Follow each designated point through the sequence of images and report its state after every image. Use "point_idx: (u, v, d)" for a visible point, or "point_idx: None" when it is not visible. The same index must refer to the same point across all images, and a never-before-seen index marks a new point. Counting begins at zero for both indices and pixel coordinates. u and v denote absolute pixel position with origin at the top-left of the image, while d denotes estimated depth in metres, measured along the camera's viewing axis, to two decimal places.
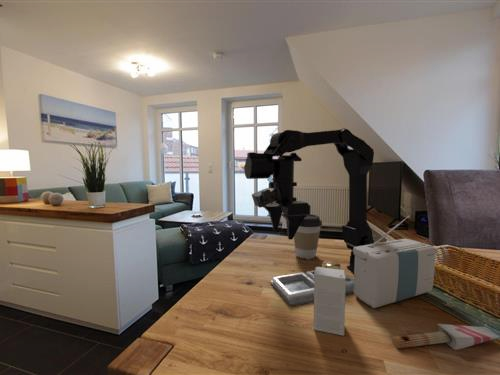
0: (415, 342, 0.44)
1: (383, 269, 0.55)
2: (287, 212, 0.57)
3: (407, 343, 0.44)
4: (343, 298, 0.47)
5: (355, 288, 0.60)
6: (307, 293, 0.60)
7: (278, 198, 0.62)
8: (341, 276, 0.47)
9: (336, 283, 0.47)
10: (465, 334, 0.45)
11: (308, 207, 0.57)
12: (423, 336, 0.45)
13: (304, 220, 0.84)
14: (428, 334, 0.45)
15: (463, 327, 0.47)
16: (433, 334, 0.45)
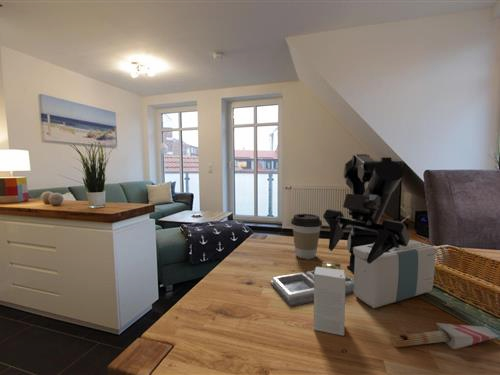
0: (414, 341, 0.44)
1: (383, 269, 0.55)
2: (397, 227, 0.49)
3: (406, 342, 0.44)
4: (343, 298, 0.47)
5: (355, 288, 0.60)
6: (307, 293, 0.60)
7: (374, 213, 0.54)
8: (341, 276, 0.47)
9: (336, 283, 0.47)
10: (464, 333, 0.45)
11: (409, 238, 0.51)
12: (422, 335, 0.45)
13: (304, 220, 0.84)
14: (427, 333, 0.46)
15: (462, 327, 0.47)
16: (432, 333, 0.46)
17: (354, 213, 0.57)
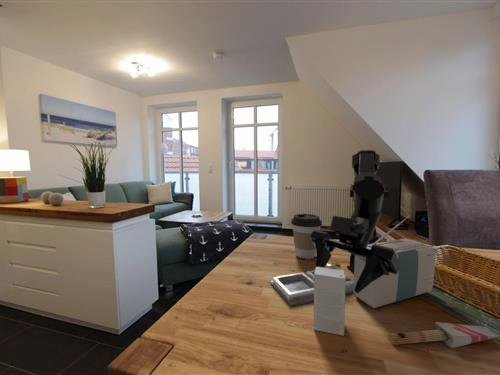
0: (411, 339, 0.45)
1: None
2: (386, 255, 0.45)
3: (403, 340, 0.45)
4: (343, 298, 0.47)
5: None
6: (307, 293, 0.60)
7: (362, 237, 0.51)
8: (341, 276, 0.47)
9: (336, 282, 0.47)
10: (462, 333, 0.45)
11: (399, 265, 0.48)
12: (419, 333, 0.46)
13: (304, 220, 0.84)
14: (425, 332, 0.46)
15: (461, 326, 0.47)
16: (430, 332, 0.46)
17: (342, 236, 0.54)
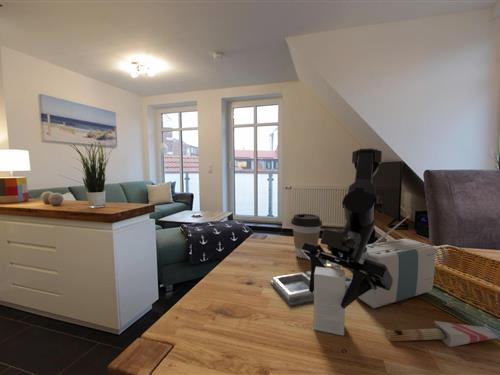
0: (408, 336, 0.46)
1: None
2: (378, 271, 0.44)
3: (400, 337, 0.46)
4: None
5: None
6: (307, 293, 0.60)
7: (354, 252, 0.49)
8: (341, 276, 0.47)
9: (336, 282, 0.47)
10: (461, 332, 0.45)
11: (391, 281, 0.46)
12: (417, 331, 0.46)
13: (304, 220, 0.84)
14: (422, 330, 0.47)
15: (461, 326, 0.47)
16: (427, 330, 0.46)
17: (333, 250, 0.52)
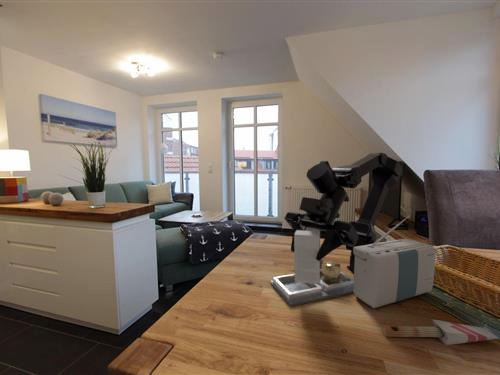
0: (404, 333, 0.47)
1: (383, 269, 0.55)
2: (345, 228, 0.53)
3: (395, 333, 0.47)
4: None
5: (355, 288, 0.60)
6: (307, 293, 0.60)
7: (327, 215, 0.58)
8: (316, 235, 0.56)
9: (312, 240, 0.56)
10: (459, 331, 0.46)
11: (357, 237, 0.56)
12: (413, 328, 0.47)
13: None
14: (419, 327, 0.47)
15: (460, 325, 0.47)
16: (424, 328, 0.47)
17: (311, 215, 0.61)
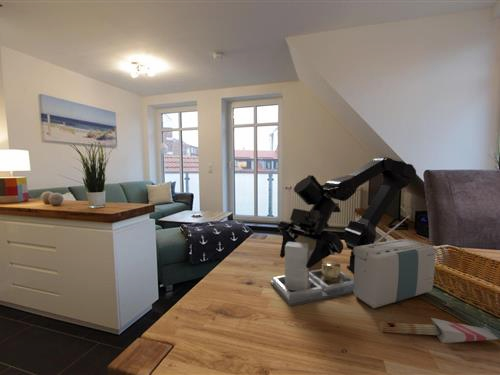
0: (400, 329, 0.48)
1: (383, 269, 0.55)
2: (330, 238, 0.58)
3: (392, 329, 0.48)
4: (306, 263, 0.61)
5: (355, 288, 0.60)
6: (307, 293, 0.60)
7: (316, 225, 0.63)
8: (305, 247, 0.62)
9: (301, 252, 0.61)
10: (456, 330, 0.46)
11: (342, 247, 0.60)
12: (410, 325, 0.48)
13: None
14: (416, 324, 0.48)
15: (459, 325, 0.48)
16: (422, 325, 0.48)
17: (301, 225, 0.66)
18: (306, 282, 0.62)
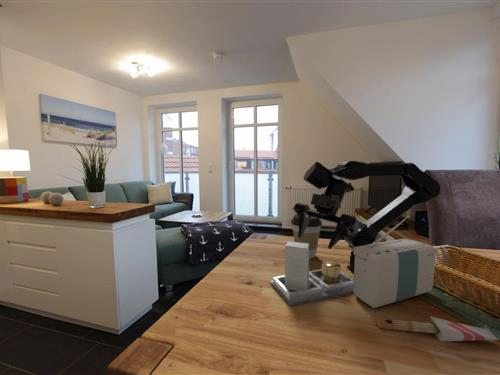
0: (397, 326, 0.49)
1: (383, 269, 0.55)
2: (351, 221, 0.63)
3: (389, 325, 0.49)
4: (306, 263, 0.61)
5: (355, 288, 0.60)
6: (307, 293, 0.60)
7: (334, 209, 0.68)
8: (305, 247, 0.62)
9: (301, 251, 0.61)
10: (455, 329, 0.46)
11: (358, 227, 0.67)
12: (408, 323, 0.49)
13: None
14: (414, 322, 0.49)
15: (459, 324, 0.48)
16: (419, 323, 0.48)
17: (318, 208, 0.70)
18: (306, 282, 0.62)
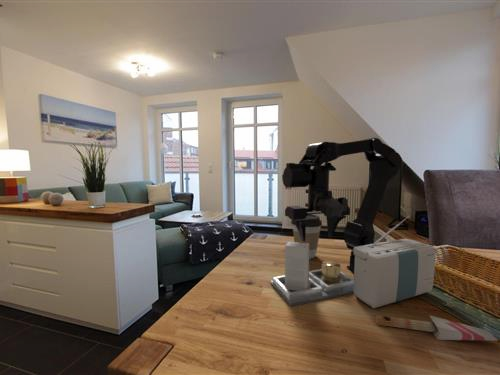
0: (395, 323, 0.50)
1: (383, 269, 0.55)
2: (349, 212, 0.69)
3: (387, 322, 0.50)
4: (306, 263, 0.61)
5: (355, 288, 0.60)
6: (307, 293, 0.60)
7: None
8: (305, 247, 0.62)
9: (301, 251, 0.61)
10: (453, 328, 0.46)
11: None
12: (406, 320, 0.49)
13: None
14: (413, 320, 0.49)
15: (458, 324, 0.48)
16: (418, 321, 0.49)
17: None
18: (306, 282, 0.62)
